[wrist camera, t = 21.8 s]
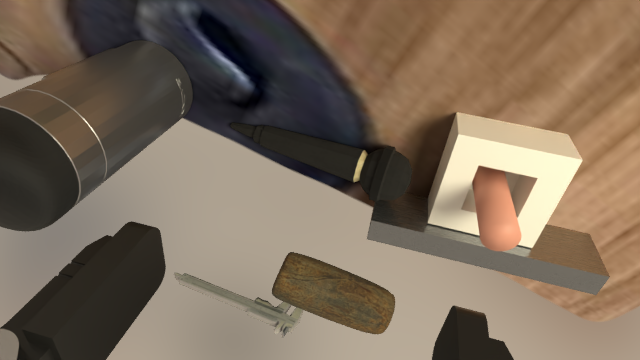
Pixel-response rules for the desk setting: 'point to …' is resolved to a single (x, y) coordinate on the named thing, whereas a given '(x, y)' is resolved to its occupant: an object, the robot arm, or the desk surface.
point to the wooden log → (334, 294)
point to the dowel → (495, 210)
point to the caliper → (247, 304)
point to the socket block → (510, 156)
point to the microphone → (339, 159)
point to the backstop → (534, 263)
